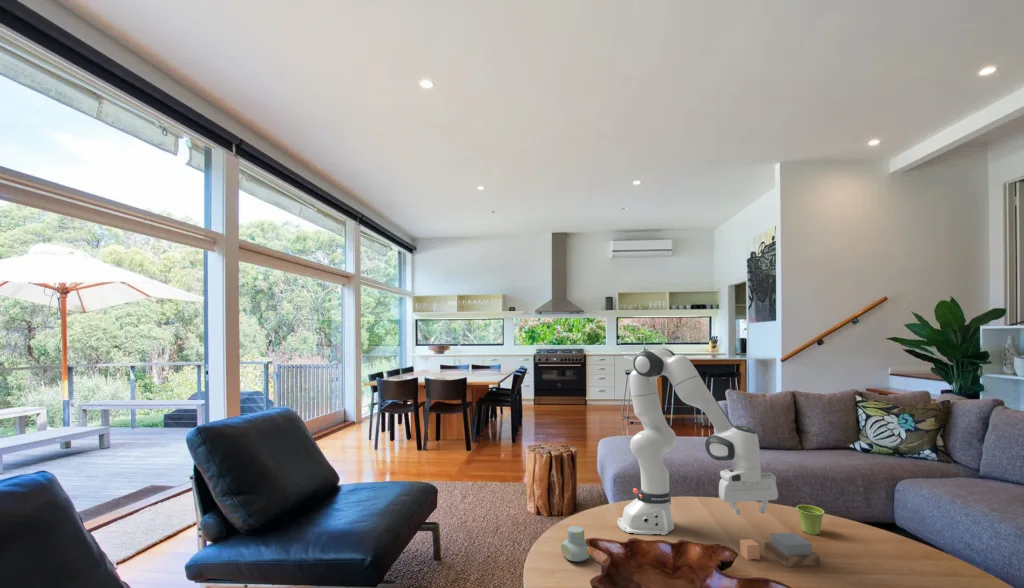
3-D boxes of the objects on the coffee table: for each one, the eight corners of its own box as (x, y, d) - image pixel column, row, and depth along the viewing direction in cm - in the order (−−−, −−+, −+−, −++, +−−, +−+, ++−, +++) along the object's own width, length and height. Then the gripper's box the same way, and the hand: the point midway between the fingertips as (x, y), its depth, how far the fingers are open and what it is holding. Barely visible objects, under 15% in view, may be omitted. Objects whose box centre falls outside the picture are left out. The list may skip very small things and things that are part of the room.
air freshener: (558, 553, 176) (558, 525, 177) (578, 549, 179) (577, 521, 180) (574, 567, 166) (573, 537, 167) (594, 562, 169) (594, 532, 170)
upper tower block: (787, 555, 167) (787, 545, 167) (771, 543, 176) (770, 533, 176) (812, 554, 168) (811, 543, 168) (794, 542, 177) (794, 532, 177)
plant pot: (823, 529, 194) (822, 506, 195) (827, 538, 186) (826, 515, 186) (796, 525, 198) (795, 503, 199) (798, 534, 190) (797, 511, 190)
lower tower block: (786, 568, 165) (785, 557, 165) (764, 552, 177) (764, 542, 177) (819, 566, 166) (819, 556, 166) (796, 550, 178) (796, 540, 178)
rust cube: (747, 560, 170) (746, 545, 170) (740, 554, 175) (739, 539, 175) (759, 559, 170) (759, 544, 171) (752, 553, 175) (752, 539, 175)
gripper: (769, 469, 178) (772, 508, 177) (715, 472, 176) (717, 511, 175) (780, 474, 172) (783, 515, 171) (724, 477, 170) (726, 518, 169)
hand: (749, 513), depth 173 cm, fingers open, 8 cm apart
